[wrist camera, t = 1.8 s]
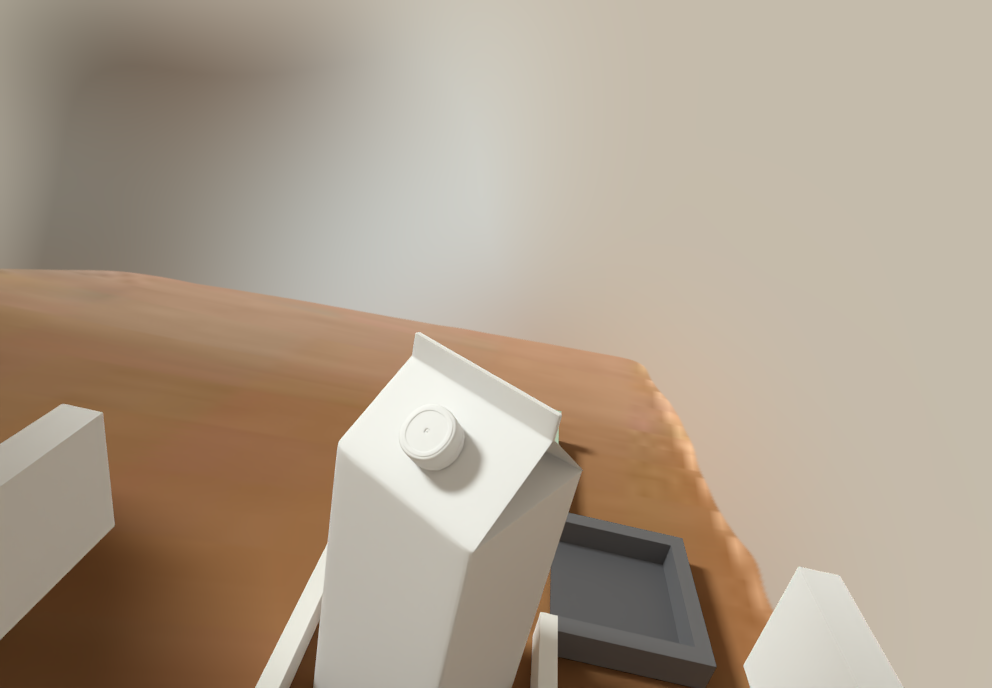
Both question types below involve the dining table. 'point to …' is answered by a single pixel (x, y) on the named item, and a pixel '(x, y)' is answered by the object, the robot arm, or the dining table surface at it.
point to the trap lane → (580, 610)
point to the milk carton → (441, 529)
